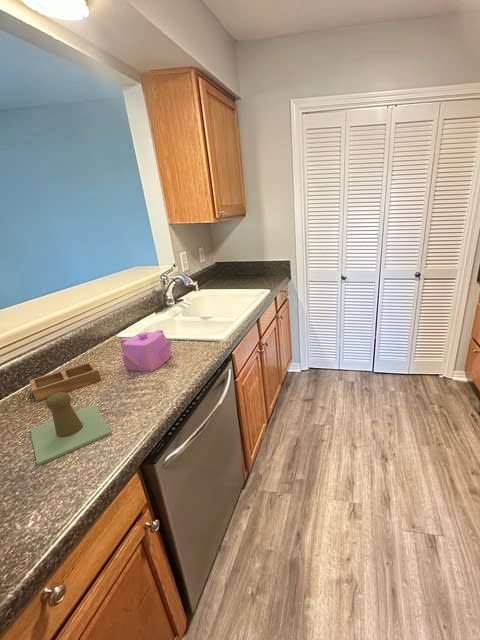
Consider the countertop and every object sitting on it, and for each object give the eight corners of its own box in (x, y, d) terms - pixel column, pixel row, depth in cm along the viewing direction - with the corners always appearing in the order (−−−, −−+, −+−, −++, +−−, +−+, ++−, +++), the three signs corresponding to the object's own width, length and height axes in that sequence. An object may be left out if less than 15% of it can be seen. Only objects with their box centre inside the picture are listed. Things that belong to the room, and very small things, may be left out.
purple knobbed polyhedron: (167, 349, 135) (160, 321, 130) (178, 364, 122) (171, 334, 117) (122, 361, 126) (113, 332, 121) (128, 379, 113) (119, 347, 108)
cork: (67, 439, 83) (52, 403, 79) (51, 435, 85) (35, 400, 81) (88, 424, 89) (75, 390, 84) (72, 421, 91) (59, 387, 86)
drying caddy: (33, 390, 109) (29, 380, 108) (94, 370, 120) (91, 361, 119) (36, 401, 102) (32, 391, 101) (101, 380, 113) (98, 370, 112)
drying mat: (30, 430, 89) (29, 428, 88) (96, 406, 98) (95, 403, 98) (37, 466, 76) (36, 463, 76) (111, 433, 86) (111, 431, 86)
